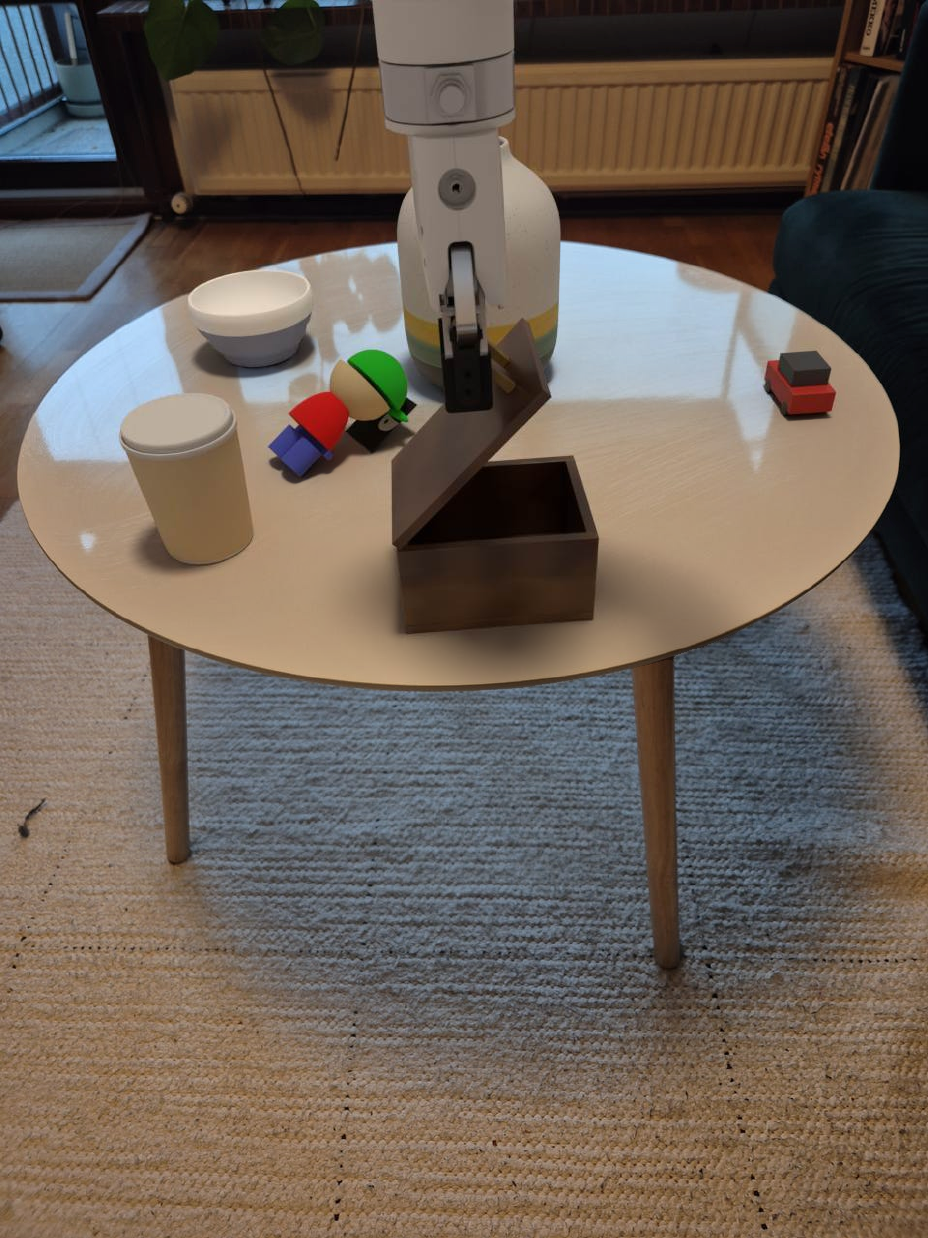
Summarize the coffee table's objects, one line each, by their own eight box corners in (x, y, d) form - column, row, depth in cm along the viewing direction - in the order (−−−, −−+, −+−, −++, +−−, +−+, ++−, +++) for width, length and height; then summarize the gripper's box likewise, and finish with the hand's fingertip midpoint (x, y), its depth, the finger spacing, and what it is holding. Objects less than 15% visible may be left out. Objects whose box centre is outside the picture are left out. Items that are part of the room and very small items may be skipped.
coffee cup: (218, 498, 84) (187, 380, 76) (284, 532, 80) (258, 410, 72) (135, 545, 79) (92, 424, 71) (200, 584, 74) (162, 459, 66)
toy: (334, 509, 88) (437, 400, 88) (285, 463, 82) (396, 346, 82) (296, 473, 94) (393, 370, 94) (247, 427, 88) (352, 317, 88)
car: (831, 417, 91) (842, 374, 88) (786, 420, 91) (796, 378, 88) (803, 382, 97) (812, 341, 94) (761, 385, 97) (769, 344, 94)
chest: (570, 532, 78) (573, 454, 73) (593, 619, 69) (599, 537, 64) (403, 545, 77) (395, 467, 72) (406, 633, 69) (396, 552, 63)
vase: (516, 332, 110) (516, 113, 94) (583, 387, 98) (595, 148, 82) (388, 360, 105) (365, 136, 90) (442, 422, 94) (426, 175, 78)
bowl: (218, 330, 115) (204, 270, 110) (329, 327, 114) (320, 267, 109) (187, 381, 104) (170, 318, 99) (310, 378, 103) (299, 314, 98)
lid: (529, 323, 65) (473, 274, 62) (552, 397, 56) (487, 342, 54) (398, 465, 72) (342, 426, 69) (400, 550, 63) (336, 509, 61)
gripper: (532, 119, 44) (534, 446, 55) (501, 61, 57) (508, 336, 68) (379, 131, 44) (415, 456, 55) (384, 70, 57) (411, 344, 68)
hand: (466, 387), depth 62 cm, fingers closed on lid, 5 cm apart
